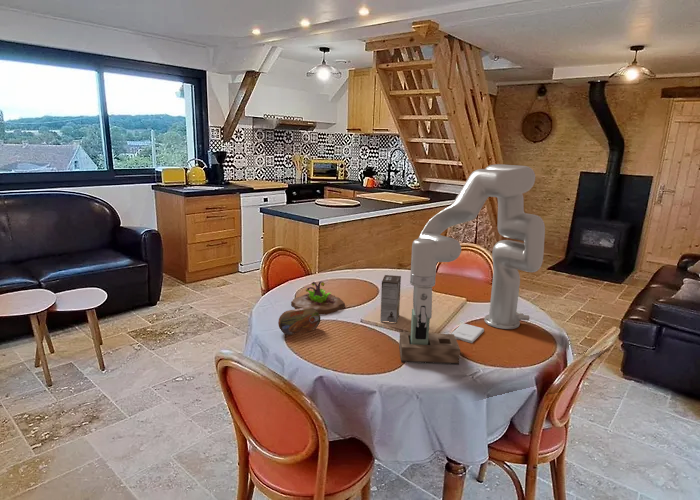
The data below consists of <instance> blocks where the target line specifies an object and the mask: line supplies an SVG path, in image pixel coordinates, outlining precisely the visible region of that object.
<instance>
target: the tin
mask: <svg viewBox="0 0 700 500" xmlns="http://www.w3.org/2000/svg"><path fill="white" fill-rule="evenodd" d="M320 323H321V315H320V314H319V312H318V311H317V310H316V309H314V308H311V307H306V308H300V309H295V308H294V309H289V310H285V311H284V312H283V313H281V315H280V316H279V318H278V327H279V329H280V331H281V333H283V334H284V335H287V336H292V335H297V334H302V333H303V334H304V333H309V332H312V331H314V330H316V329H317V328H318V326H319V325H320Z"/></svg>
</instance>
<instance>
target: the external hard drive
mask: <svg viewBox="0 0 700 500" xmlns="http://www.w3.org/2000/svg"><path fill="white" fill-rule="evenodd" d="M484 331H485V329H484V327H479V326H477V325H473V324H472V325H471V324H467V323H465V322H463V323H461V324H460V325H458V327H456V328H455V329H454V330H453V331H452V332H450V334H454V336H455V338H456V340H457V341H462V342H466V343H469V344H473V343H474V342H475V341H476V340H477V339H478V338H479V337H480V336H481V335H482V334H483V333H484Z"/></svg>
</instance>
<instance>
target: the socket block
mask: <svg viewBox="0 0 700 500" xmlns="http://www.w3.org/2000/svg"><path fill="white" fill-rule="evenodd" d="M410 338H411V332H407V331H405V332H403V331H400V332H399V341H398V342H399V343H398V344H399V345H398V346H399V355H400V363H410V364H413V363H414V364H434V365H456V366H457V365H458V366H459V365H460V358H461V356H460V355H461V348H460V345H459V342H458V339H456V338H455V336H454V334H451V333H430V332H429V338H428V345H418V344H410Z"/></svg>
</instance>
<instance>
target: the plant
mask: <svg viewBox="0 0 700 500" xmlns="http://www.w3.org/2000/svg"><path fill="white" fill-rule="evenodd" d="M311 285H312V286H315V287H311V286H310V287H307V288H305V292H308V293H306V294H302V295H300V296H297V297H295V298H294V299H292V301H291V302H290V305H291V307H293V308H294V310H295V309H300V308H306V307H311V308H314V309H316V310H317V311H318V312H319V314H320V316H321V315H328V314H333V313H337V312H339V310H343V309H345V308H346V304H345V302H344V301H343V300H342V299H341V298H340V297H338V296H336V295H335V294H332V292H327V293H326V289H323V288H321V286H322V287H324V286H325V283H324V281H322V280H320V281H319V282H318V284H317V282H316V281H313V282H311ZM310 289H311V290H310ZM312 290H313V291H312Z"/></svg>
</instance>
